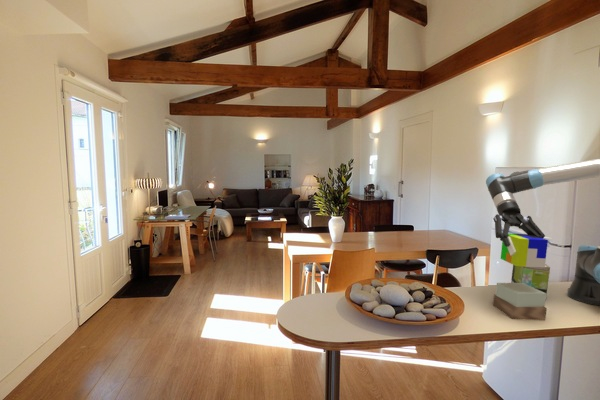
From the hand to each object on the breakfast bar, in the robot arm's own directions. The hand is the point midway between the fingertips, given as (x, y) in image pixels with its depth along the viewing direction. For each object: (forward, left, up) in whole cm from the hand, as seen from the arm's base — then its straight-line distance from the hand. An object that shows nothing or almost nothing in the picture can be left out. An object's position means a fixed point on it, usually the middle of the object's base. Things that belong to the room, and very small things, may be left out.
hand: (528, 254), depth 123 cm
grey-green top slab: (0, -3, -18) cm, 19 cm away
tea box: (-18, -24, -23) cm, 38 cm away
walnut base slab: (-1, -3, -23) cm, 24 cm away
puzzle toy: (0, -3, -4) cm, 5 cm away
